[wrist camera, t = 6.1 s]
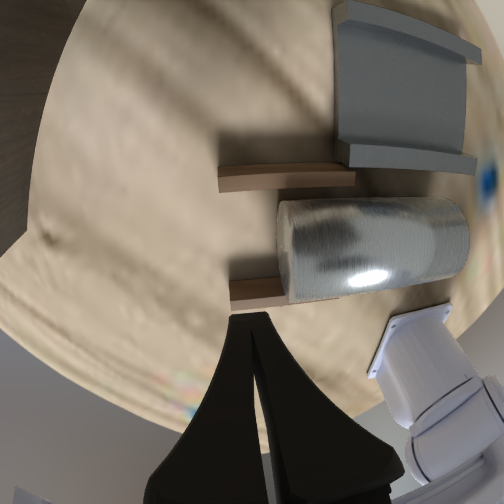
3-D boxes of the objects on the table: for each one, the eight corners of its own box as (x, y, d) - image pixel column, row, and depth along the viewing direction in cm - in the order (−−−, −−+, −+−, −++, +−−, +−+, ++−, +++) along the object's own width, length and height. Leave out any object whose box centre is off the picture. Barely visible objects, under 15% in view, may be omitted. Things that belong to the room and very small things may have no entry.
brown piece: (329, 280, 20) (338, 298, 18) (230, 290, 19) (231, 310, 17) (341, 162, 15) (355, 171, 14) (218, 167, 15) (217, 177, 13)
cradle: (454, 165, 16) (474, 175, 14) (333, 157, 15) (349, 167, 13) (459, 48, 11) (481, 49, 9) (331, 9, 10) (347, -1, 9)
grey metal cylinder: (428, 186, 17) (478, 219, 12) (413, 252, 19) (452, 294, 15) (276, 187, 16) (300, 229, 11) (276, 266, 19) (294, 324, 14)
